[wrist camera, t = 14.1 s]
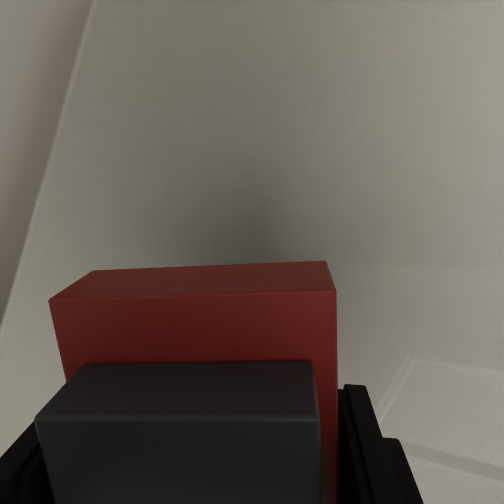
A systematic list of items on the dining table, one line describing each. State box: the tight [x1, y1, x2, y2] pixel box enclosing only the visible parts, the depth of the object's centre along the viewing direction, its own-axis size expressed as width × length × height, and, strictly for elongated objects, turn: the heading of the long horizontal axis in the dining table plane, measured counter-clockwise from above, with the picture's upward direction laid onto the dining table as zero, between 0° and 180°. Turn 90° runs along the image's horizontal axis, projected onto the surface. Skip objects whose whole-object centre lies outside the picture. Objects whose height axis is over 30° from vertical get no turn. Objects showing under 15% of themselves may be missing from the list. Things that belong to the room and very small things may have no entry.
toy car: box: [34, 261, 339, 504], centre depth 10 cm, size 9×5×6 cm
